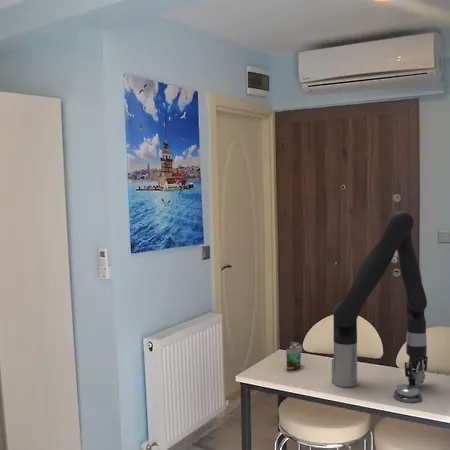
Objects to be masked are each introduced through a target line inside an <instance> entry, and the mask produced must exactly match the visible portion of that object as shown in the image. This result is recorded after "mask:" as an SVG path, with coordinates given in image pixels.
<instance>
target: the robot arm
mask: <svg viewBox="0 0 450 450" xmlns="http://www.w3.org/2000/svg"><path fill="white" fill-rule="evenodd" d="M414 222H415V221H414V218H413V216H412V215H411V214H410V213H409V212H407V211H404V210H395V211H393V212H391V213H390V214H389V216H388V218H387V225H386V228H385V229H384V232H383V234H382V235H381V238H380V239H379V240H378V241H377V243H376V244H375V245H374V247H372V248H371V250H370V251H369V252H368V253H367V255H366V256H365V257H364V259H363V261H362V263H361V264H360V265H359V267H358V270H357V272H356V273H355V276H354V278H353V281H352V283H351V286H350V288H349V290H348V292H347V294H346V295H345V296H344V298H343V300H341V301H339V302H337V303H336V304H335V305H334V308H333V313H332V314H333V358H332V359H331V383H333V384H334V385H335V386H337V387H340V388H354V387H356V386H358V328H357V327H358V325H357V324H358V318H359V317H358V316H359V315H360V313H361V311H362V308H363V306H364V304H365V303H366V301H367V299H368V298H369V296H370V295H371V294H372V293H373V291H374V290H375V288H376V287H377V285H378V284H379V282H380V281H381V279H382V278H383V276H384V275H385V273H386V271H387V269H388V268H389V265H390V264H391V262H392V261H393V258H394V256H395V254H396V252H397V257H398V263H399V270H400V273H401V279H402V283H403V286H404V288H405V293H406V299H405V301H406V302H405V307H406V314H407V315H406V317H407V318H406V319H407V320H406V339H405V340H406V341H405V343H406V344H405V346H406V347H405V349H406V351H405V353H406V355H407V356H408V361H407V362H406V361H405V362H404V373H405V374H404V375H405V377H406V378H408V377H409V381H408V385H413V386H415V375H416V373H417V372H418V370H421V371H422V372H423V373H424V374H425V372H427V370H428V360H429V358H428V355H427V354H428V349H427V347H428V346H427V345H428V343H427V342H428V341H427V340H428V339H427V321H426V317H425V309H427V306H428V300H427V295H426V292H425V289H424V286H423V281H422V275H421V274H422V273H421V270H420V265H419V262H418V261H419V260H418V258H417V255H416V252H415V249H414V244H413V241H412V240H413V239H412V230H413V228H414ZM424 381H425V380H424ZM424 381H422V384H423V383H424Z"/></svg>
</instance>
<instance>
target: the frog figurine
mask: <svg viewBox="0 0 450 450" xmlns="http://www.w3.org/2000/svg"><path fill="white" fill-rule="evenodd" d="M425 379H426V374H425V373H423V372H422V371H421V370H418V372H417V373H416V375H415V386H416V387H418V388H420V387H421V386H422V385H423V383H422V381H425ZM407 382H409V377H407Z"/></svg>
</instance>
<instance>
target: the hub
mask: <svg viewBox="0 0 450 450" xmlns="http://www.w3.org/2000/svg"><path fill="white" fill-rule="evenodd" d="M393 398H394V399H395V400H396V401H398V402H401V403H407V404H415V403H420V402H421V401H423V395H422V394H421V393H420V387H416V386H413V385H409V383H408V384H407V383H404V384H398V385H396V388H395V390H394V392H393Z"/></svg>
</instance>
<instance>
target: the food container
mask: <svg viewBox="0 0 450 450" xmlns="http://www.w3.org/2000/svg"><path fill="white" fill-rule="evenodd" d="M285 349H286V351H285V352H286V353H285V356H286V371H287V372H291V371H293V372H294V371H297V370H298V371H299V370H300V369H301V358H302V352H303V346H302V345H301V343H299V342H295V341H290V343H289V346H288V348H285Z"/></svg>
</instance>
